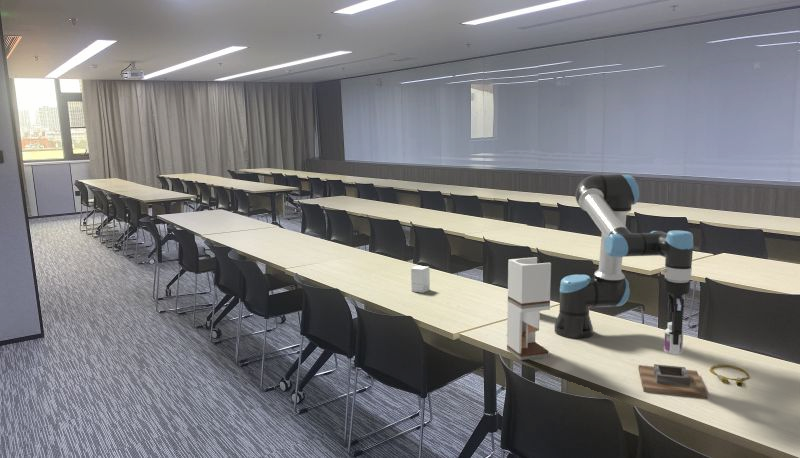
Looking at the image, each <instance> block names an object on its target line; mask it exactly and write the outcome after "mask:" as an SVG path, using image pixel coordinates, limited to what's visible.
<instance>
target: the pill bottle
mask: <svg viewBox="0 0 800 458" xmlns="http://www.w3.org/2000/svg"><path fill="white" fill-rule="evenodd" d="M669 332H672V322H667V328H666V329H665V330H664V341H663V343H664V344H663V352H664V353H666V354H668V355H672V356H679V355H680V356H681V355H682V354H683V344H684V332H683V330H682V335H680V351H679V354H670V338H671V334H669Z"/></svg>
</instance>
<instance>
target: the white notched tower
mask: <svg viewBox="0 0 800 458" xmlns="http://www.w3.org/2000/svg"><path fill="white" fill-rule="evenodd" d="M507 265H508V266H507V318H506V319H507V321H506V322H507V324H506V325H507V326H506V329H507V330H506V332H507V333H506V337H507V338H506V351H508V352H509V353H510V354H512V355H513V356H514V357H515V358H517V359H518V360H520V361H524V360H531V359H538V358H547V357H549V354H550V353H549V352H550V351H549V350H548V349H546V348H545V347H544V346H542V345H540V344H539V343H537V342H536V332H539V331H540V315H541V312H540V311H547V310H548V311H549V310H550V309H551V281H552V280H551V279H552V276H551V275H552V263H551V262H542V263H538V257H537V256H536V257H522V258H511V259H508V263H507Z"/></svg>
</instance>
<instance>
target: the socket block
mask: <svg viewBox="0 0 800 458" xmlns="http://www.w3.org/2000/svg"><path fill="white" fill-rule="evenodd" d="M638 373H639V378H640V382H641V383H640V384H641V386H642V390H643V392H647V393H653V394H654V393H655V394H663V395H673V396H682V397H683V396H684V397H691V398H701V399H708V392H707V390H706V387H705V386H704V383H703V381H702V379H701V377H700V375H699V372H698V371H697V370H694V369H693V370H691V369H686V367H684V366H674V365H667V364H664V365H663V364H655V363H654V364H653V366H651V365H641V364H638Z"/></svg>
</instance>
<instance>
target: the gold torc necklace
mask: <svg viewBox="0 0 800 458" xmlns="http://www.w3.org/2000/svg"><path fill="white" fill-rule="evenodd" d="M715 368H717V369H718V368H731V369H733V370H734V369H735V370H739V371H740V372H743V373H744V374H745V375H746V377H742V378H741V377H737V378H730V377H725V376H724V375H722V374H718V373H717V372H715V371H714V370H713V369H715ZM709 372H710V373H711V374H713V375H715V376H717V378H718V379H719V381H720V382H722V383H723V384H729V383H730V380H732V381H735V382H736V385H737V386H740V387H742V386H743V384H744V383H743V382H745V380H747V379H749V378H750V375H749V373H748V372H747V371H745V370H744V369H743V368H740V367H738V366H736V365H735V366H734V365H731V364H723V365H722V364H715V365H713V366H711V367H710V369H709Z"/></svg>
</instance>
